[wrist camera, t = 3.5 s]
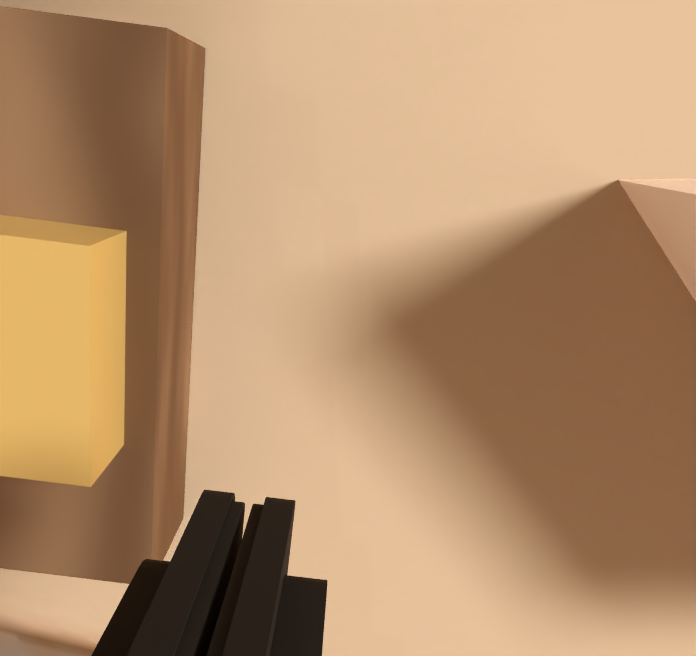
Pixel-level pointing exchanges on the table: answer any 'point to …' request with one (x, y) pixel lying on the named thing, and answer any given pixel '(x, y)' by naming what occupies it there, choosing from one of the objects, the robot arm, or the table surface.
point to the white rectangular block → (669, 220)
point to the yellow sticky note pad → (61, 349)
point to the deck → (141, 263)
